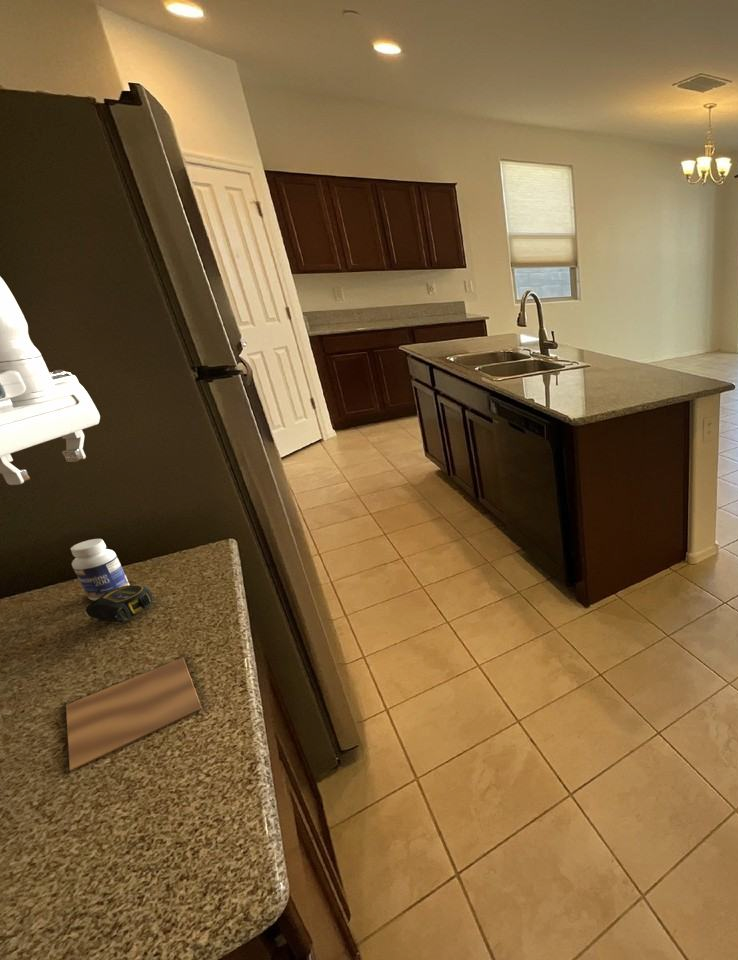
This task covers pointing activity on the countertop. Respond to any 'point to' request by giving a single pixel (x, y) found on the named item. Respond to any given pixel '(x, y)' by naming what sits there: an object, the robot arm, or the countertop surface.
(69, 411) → the robot arm
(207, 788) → the countertop surface
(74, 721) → the wooden board
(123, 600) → the tape measure
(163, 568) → the countertop surface
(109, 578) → the pill bottle
